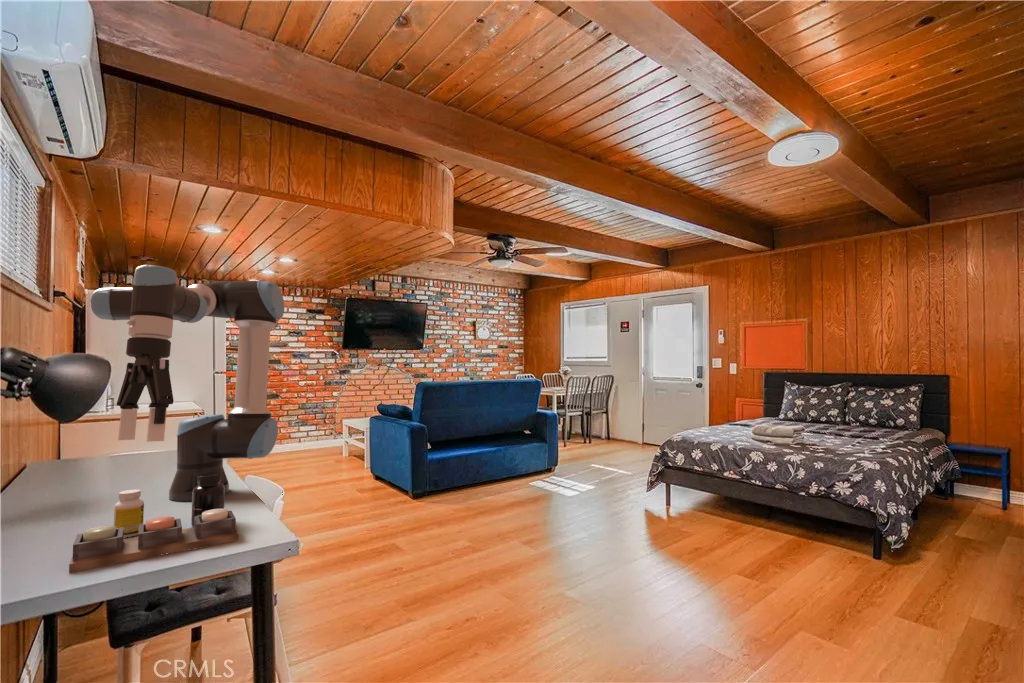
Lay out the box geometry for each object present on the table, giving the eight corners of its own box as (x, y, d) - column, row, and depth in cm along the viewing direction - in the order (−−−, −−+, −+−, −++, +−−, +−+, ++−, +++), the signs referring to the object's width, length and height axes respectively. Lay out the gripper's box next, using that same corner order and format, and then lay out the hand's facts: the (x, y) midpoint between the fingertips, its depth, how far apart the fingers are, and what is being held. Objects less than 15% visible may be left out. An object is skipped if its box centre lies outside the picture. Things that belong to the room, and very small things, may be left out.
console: (231, 527, 119) (231, 508, 119) (238, 540, 110) (238, 520, 110) (76, 554, 103) (76, 532, 103) (68, 572, 94) (69, 548, 94)
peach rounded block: (226, 517, 116) (226, 507, 116) (228, 523, 112) (229, 512, 112) (200, 521, 113) (201, 511, 113) (202, 527, 109) (202, 516, 109)
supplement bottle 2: (186, 529, 118) (188, 478, 118) (196, 521, 124) (197, 472, 125) (219, 527, 119) (220, 476, 120) (227, 518, 126) (228, 470, 127)
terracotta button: (173, 526, 110) (174, 515, 110) (174, 532, 106) (175, 520, 106) (145, 530, 107) (146, 519, 107) (145, 537, 103) (145, 525, 103)
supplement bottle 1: (145, 534, 115) (147, 491, 115) (116, 540, 111) (117, 495, 111) (140, 529, 118) (141, 487, 119) (110, 535, 114) (112, 491, 115)
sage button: (115, 535, 104) (116, 523, 104) (114, 542, 100) (114, 530, 100) (84, 540, 101) (84, 528, 101) (81, 548, 97) (82, 535, 97)
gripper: (104, 341, 110) (94, 440, 107) (156, 330, 96) (146, 442, 93) (144, 345, 116) (135, 438, 113) (198, 335, 103) (189, 440, 100)
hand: (140, 440), depth 103 cm, fingers open, 13 cm apart
